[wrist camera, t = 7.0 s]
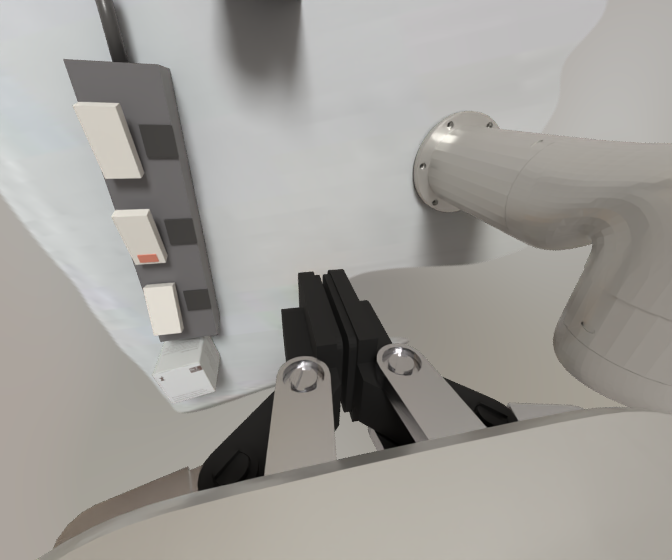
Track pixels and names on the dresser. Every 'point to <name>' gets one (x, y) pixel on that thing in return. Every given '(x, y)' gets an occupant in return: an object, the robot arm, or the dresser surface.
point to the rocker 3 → (163, 308)
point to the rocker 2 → (140, 236)
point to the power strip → (154, 173)
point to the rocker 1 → (109, 139)
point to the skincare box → (187, 368)
